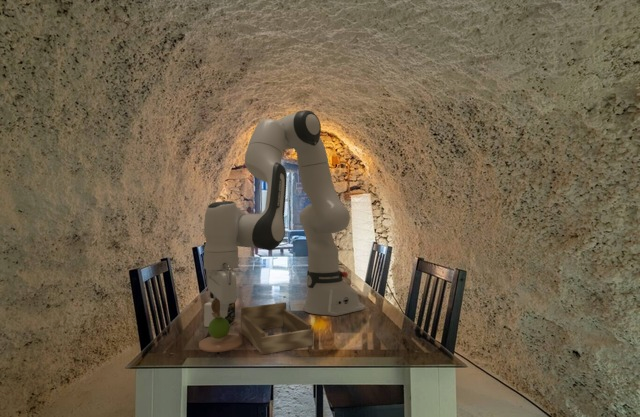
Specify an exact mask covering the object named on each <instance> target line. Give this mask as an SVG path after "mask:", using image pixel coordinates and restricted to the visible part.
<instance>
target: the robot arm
mask: <svg viewBox="0 0 640 417" xmlns="http://www.w3.org/2000/svg"><path fill="white" fill-rule="evenodd" d="M321 126H322V125H321V122H320V119H319V117H318V116H317V115H316V114H315V113H314V112H313V111H312V110H309V109H308V110H299V111H297V112H294V113H290V114H287V115H284V116H283V117H280V118H279V119H276V120H275V119H273V118H264V119H262V120H260V121H259V122H258V123H257V125H256V126H255V128H254V129H253V132H252V134H251V136H250V140H249V142H248V144H247V145H248V146H247V147H246V148H247V149H246V152H245V155H244V165H245V167H246V169H247V171H248V172H249V173H250V175H252V176H253V177H255V179H258V180H260V181H262V182H265V183H266V186H267V187H266V188H267V189H266V197H265V207H264V210H263V211H262V212H261V213H246V212H245V211H243V210H242V209H241V208H239V207H238V206H237V204H236V202H235V201H231V200H225V201H216V202H212V203H210V204H208V205H207V207H206V210H205V214H204V223H203V224H204V225H203V235H204V239H205V245H204V249H203V269H204V270H205V275H206V285H207V289H208V291H209V293H210V292H211V293H212V294H213V295H214V299H216V298H217V299H218V300H219V301H220V309H219V312H220V313H219V315H220V316H221V317H226V316H227V315H228V306H229V304H230V303H235V304H236V302H237V298H238V291H237V290H238V289H237V288H238V287H237V274H236V273H235V271H234V270H235V269H237V268H239V247H241V248H250V249H251V248H253V249H254V248H255V249H260V250H265V251H266V250H267V251H273V250H274V249H277V247H278V246H279V245H280V244H282V242H283V240H284V238H285V234H286V225H285V210H286V209H285V208H286V198H287V197H286V196H287V195H286V194H287V182H288V181H287V179H288V178H287V169H286V168H285V166H284V165H283V164H282V159H283V154H284V151H288V150H294V151H295V152H296V160H297V166H298V172H299V177H300V181H301V182H300V183H301V188H302V190H303V192H304V193H305V194H306V196H307V197H308V200H309V202H310V204H308V205H306V206H305V207H303V208H302V209H301V211H300V213H299V222H300V224H301V226H302V228H303V232H304V236H305V240H306V246H307V257H308V258H307V259H308V260H307V262H308V263H307V264H308V265H307V266H308V267H307V268H308V269H307V271H306V284H307V285H306V286H307V292H306V300H305V303H304V307H303V311H304V312H306V313H308V314H312V315H322V316H324V315H325V316H331V317H332V316H333V317H338V316H341V315H345V314H346V315H347V314H350V313H354V312H359V311H364V310H365V309H366V307H365V305H364V304H363V303H362V302H360V301H359V300H360V299H359V295H358V293H357V291H356V290H355V289H354V288H353V287H352V286H350V284H348V283H347V282H345V281H344V279H343V278H345V279H346V278H348V276H349V273H348V272H347V271H341V270H339V267H340V266H339V248H338V247H337V245H336V243H335V241H334V236H333V234H337V233H340V232H341V231H344V230H345V229H346V228H348V226H349V224H350V221H351V215H350V211H349V209H348V208H347V207H346V205H344V204H343V203H342V201H341V199H340V197H339V195H338V193H337V190H336V189H335V186H334V182H333V179H332V178H333V177H332V174H331V169H330V163H329V159H328V155H327V150H326V147H325V145H324V142H323V140H322V138H321V133H322V132H321V131H322V127H321Z"/></svg>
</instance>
